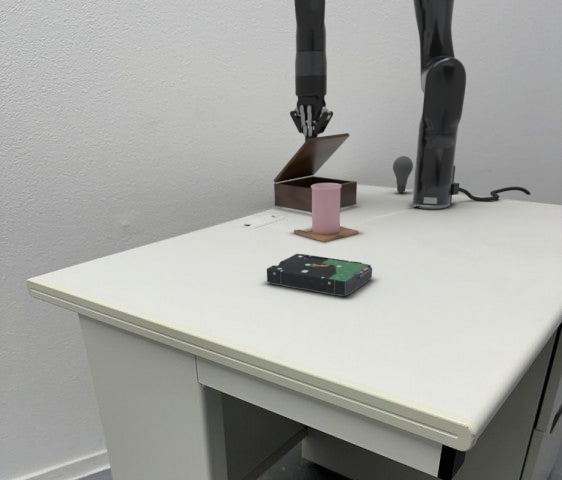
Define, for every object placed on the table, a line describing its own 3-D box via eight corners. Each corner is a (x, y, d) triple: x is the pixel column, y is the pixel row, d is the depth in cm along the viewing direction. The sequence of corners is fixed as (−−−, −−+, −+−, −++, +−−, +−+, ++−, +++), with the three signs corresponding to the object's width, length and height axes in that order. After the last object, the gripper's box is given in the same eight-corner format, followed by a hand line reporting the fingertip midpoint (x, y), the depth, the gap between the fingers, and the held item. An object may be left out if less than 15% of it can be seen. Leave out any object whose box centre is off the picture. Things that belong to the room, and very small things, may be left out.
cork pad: (327, 225, 125) (327, 223, 125) (358, 233, 118) (358, 230, 118) (293, 233, 120) (293, 230, 120) (323, 242, 113) (324, 239, 113)
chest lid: (349, 135, 136) (348, 132, 136) (309, 141, 127) (307, 138, 127) (313, 175, 149) (312, 172, 149) (274, 182, 141) (273, 180, 141)
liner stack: (326, 225, 123) (327, 181, 118) (346, 230, 118) (347, 185, 114) (305, 230, 120) (304, 185, 115) (324, 236, 115) (324, 189, 110)
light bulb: (409, 191, 159) (412, 154, 154) (411, 194, 154) (414, 157, 149) (390, 191, 160) (392, 155, 155) (392, 195, 155) (394, 157, 150)
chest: (356, 206, 143) (357, 181, 139) (318, 216, 134) (318, 190, 131) (312, 199, 153) (312, 175, 150) (274, 208, 144) (274, 183, 141)
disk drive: (266, 285, 91) (346, 298, 84) (265, 269, 90) (347, 280, 83) (296, 267, 99) (372, 278, 92) (296, 252, 98) (373, 262, 91)
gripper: (342, 72, 127) (340, 152, 135) (302, 74, 135) (302, 149, 144) (320, 73, 122) (320, 155, 131) (280, 74, 131) (282, 152, 139)
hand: (311, 152), depth 137 cm, fingers closed
